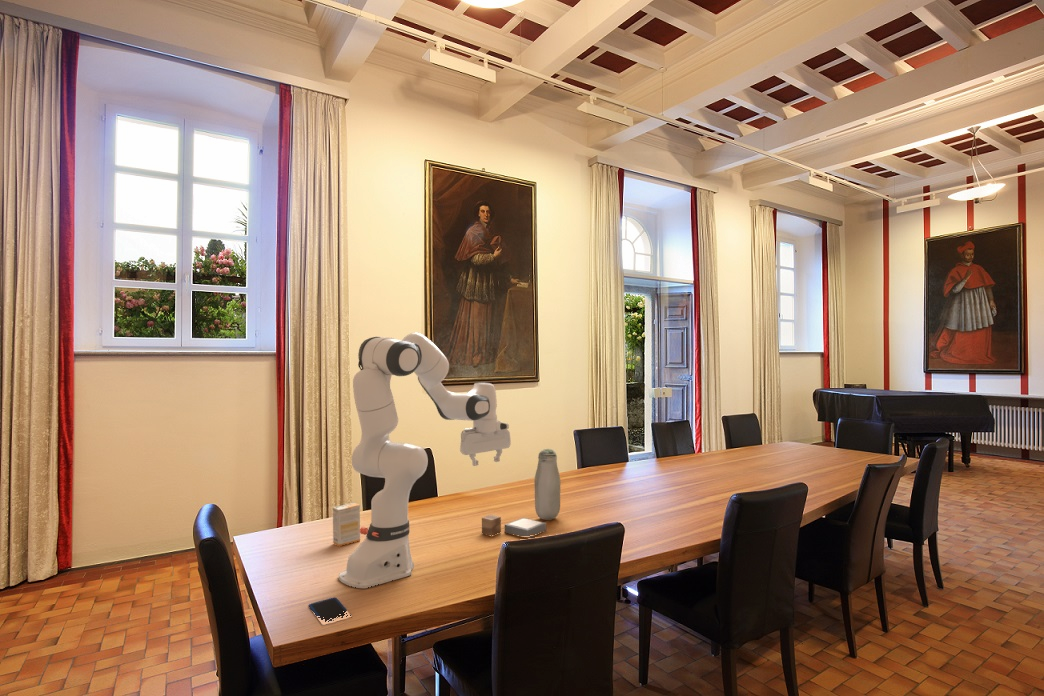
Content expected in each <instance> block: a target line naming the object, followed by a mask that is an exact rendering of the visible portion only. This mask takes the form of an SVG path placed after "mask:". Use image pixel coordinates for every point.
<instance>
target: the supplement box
mask: <svg viewBox="0 0 1044 696" xmlns="http://www.w3.org/2000/svg"><path fill="white" fill-rule="evenodd" d="M360 506H361V505H360V504H358V503H356V502H352V503H346V504H343V505H337V506H332V537H333V538H332V540H333V541H332V544H333V543H334V544H333V545H335V544H336V545H335V546H337V545H338V546H337V547H339V546H340V547H342V546H341V545H344V546H346V545H345V544H347V545H350V544H349V543H351V544H354V543H357V541H358V542H360V541H361V533H360V528H361V517H360V515H361V512H360V511H361V510H360V509H361V508H360ZM353 542H354V543H353Z"/></svg>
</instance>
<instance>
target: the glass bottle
mask: <svg viewBox="0 0 1044 696" xmlns="http://www.w3.org/2000/svg"><path fill="white" fill-rule="evenodd" d="M537 459H538V460H537V466H536V467H537V468H536V470H535V475H534V510H535V513H536V516H537V517H538V518H540V519H541V520H545V521H551V520H554V519H555V518H556V517H558V515H559V514H560V510H561V477H560V471H559V469H558V462H557V461H558V460H557V459H558V457H557V453H556V451H555V450H554V449H551V448H546V449H545V448H544V449H542V450H541V451H539V453H538V457H537Z"/></svg>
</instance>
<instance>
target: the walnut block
mask: <svg viewBox="0 0 1044 696" xmlns="http://www.w3.org/2000/svg"><path fill="white" fill-rule="evenodd" d="M500 532H501V533H502V517H501V516H498V515H494V514H489V515H486V516H482V517H481V534H482V533H483V534H482V535H484V534H487V535H486V536H488V535H491V536H492V535H495V534H497V533H500ZM501 533H500V534H501ZM497 535H498V534H497ZM491 536H490V537H491ZM495 536H496V535H495ZM492 537H493V536H492Z"/></svg>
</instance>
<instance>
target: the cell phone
mask: <svg viewBox="0 0 1044 696" xmlns="http://www.w3.org/2000/svg"><path fill="white" fill-rule="evenodd" d="M309 607H310V608H309ZM308 608H309V610H310V611H311V610H312V611H313V612H314V613H315V615H316V616H320V617H318V618H321V620H323V619H325V622H326V621H327V620H329V619H330V618H332V619H334V618H336V617H337V616H338V617H340V616H342V617H341V618H343V616H344V615H345V614H344V613H345V612H346V611H347V610H348V609H347V608H346V606H345V605H344V604H343V603H342V602H341V601H340V600H339V598H337V597H334V596H333V597H330V598H326V599H323V600H319V601H315V602H312V603H309V604H308ZM312 611H311V612H312ZM343 611H344V612H343ZM313 612H312V613H313ZM339 614H341V615H339ZM346 614H347V613H346ZM315 615H314V616H315ZM351 615H352V614H351ZM351 615H350V616H351ZM316 616H315V617H316ZM347 616H348V615H347ZM347 616H346V617H347ZM323 617H324V618H323ZM338 617H337V618H338ZM337 618H336V619H337ZM332 619H330V620H329V621H332ZM336 619H334V620H336ZM334 620H333V621H334ZM329 621H328V622H329Z"/></svg>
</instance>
